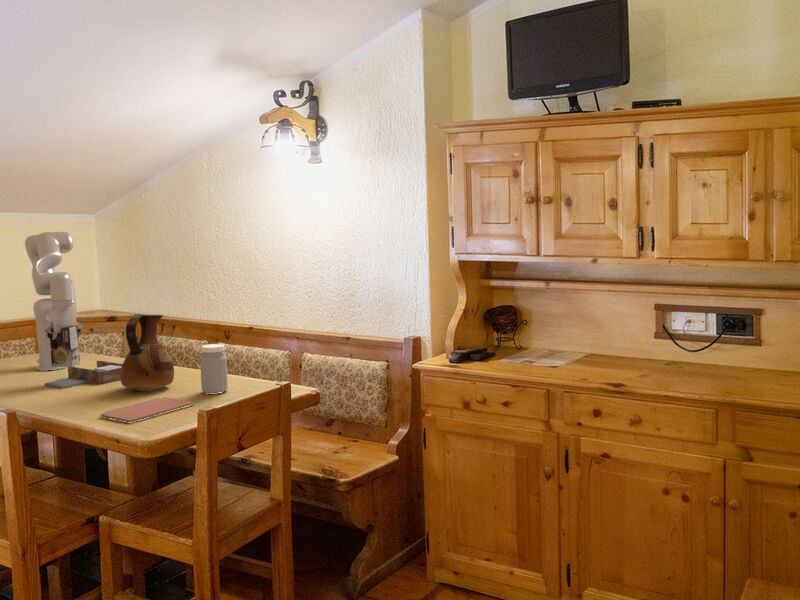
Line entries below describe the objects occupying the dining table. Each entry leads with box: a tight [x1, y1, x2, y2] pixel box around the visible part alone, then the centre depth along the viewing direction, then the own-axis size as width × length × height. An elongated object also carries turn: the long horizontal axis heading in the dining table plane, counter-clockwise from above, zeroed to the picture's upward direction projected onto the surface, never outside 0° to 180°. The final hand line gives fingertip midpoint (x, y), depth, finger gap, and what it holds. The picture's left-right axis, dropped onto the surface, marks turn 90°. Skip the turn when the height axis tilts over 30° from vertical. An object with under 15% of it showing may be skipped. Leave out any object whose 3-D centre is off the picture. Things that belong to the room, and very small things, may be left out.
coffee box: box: [49, 326, 81, 368], centre depth 304 cm, size 9×6×16 cm
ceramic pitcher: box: [120, 313, 175, 392], centre depth 293 cm, size 20×20×30 cm
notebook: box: [99, 396, 195, 422], centre depth 261 cm, size 27×17×2 cm, turn 147°
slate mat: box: [44, 377, 90, 389], centre depth 305 cm, size 12×12×1 cm
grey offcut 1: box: [93, 365, 116, 371], centre depth 315 cm, size 4×8×5 cm, turn 145°
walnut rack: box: [67, 359, 123, 385], centre depth 317 cm, size 23×15×5 cm, turn 58°
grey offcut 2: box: [101, 366, 121, 371], centre depth 313 cm, size 4×8×5 cm, turn 146°
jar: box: [199, 343, 229, 394], centre depth 287 cm, size 10×10×18 cm
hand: (64, 347), depth 304 cm, fingers closed on coffee box, 8 cm apart
